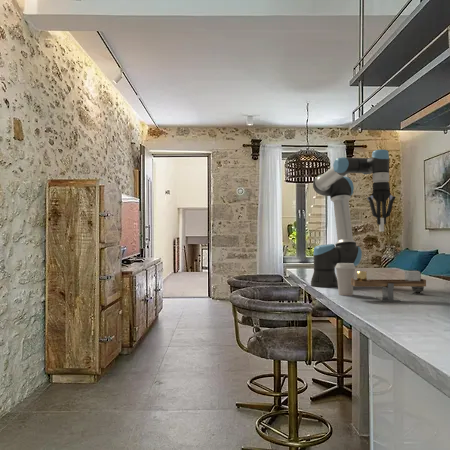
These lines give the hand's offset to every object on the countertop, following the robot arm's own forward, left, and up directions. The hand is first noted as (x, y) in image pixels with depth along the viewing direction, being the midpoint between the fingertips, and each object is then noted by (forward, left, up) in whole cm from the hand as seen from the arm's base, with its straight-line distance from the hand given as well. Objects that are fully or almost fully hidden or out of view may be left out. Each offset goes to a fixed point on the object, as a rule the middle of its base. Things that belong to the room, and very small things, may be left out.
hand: (381, 231), depth 196 cm
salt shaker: (-5, +18, -31) cm, 36 cm away
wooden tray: (+15, -2, -24) cm, 28 cm away
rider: (+15, +9, -23) cm, 28 cm away
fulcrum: (+15, -2, -30) cm, 34 cm away
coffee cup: (-1, -17, -31) cm, 35 cm away
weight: (+15, -13, -23) cm, 30 cm away
